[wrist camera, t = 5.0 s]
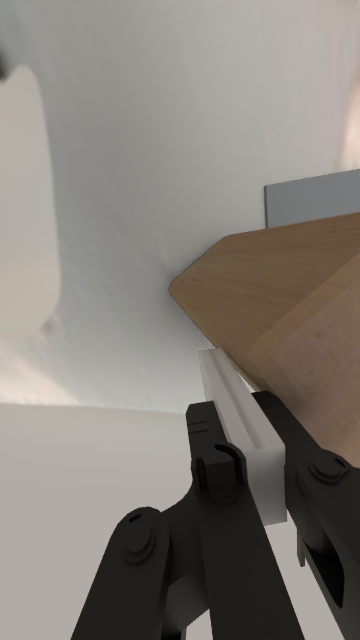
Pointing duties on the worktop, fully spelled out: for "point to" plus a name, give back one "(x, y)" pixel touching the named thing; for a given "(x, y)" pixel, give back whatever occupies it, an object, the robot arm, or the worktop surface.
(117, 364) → the worktop surface
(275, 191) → the mat
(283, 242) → the block
